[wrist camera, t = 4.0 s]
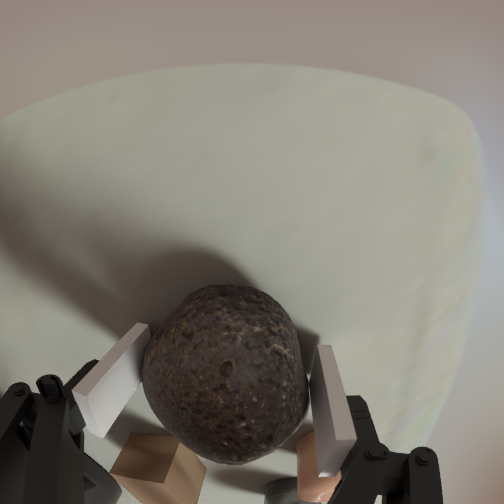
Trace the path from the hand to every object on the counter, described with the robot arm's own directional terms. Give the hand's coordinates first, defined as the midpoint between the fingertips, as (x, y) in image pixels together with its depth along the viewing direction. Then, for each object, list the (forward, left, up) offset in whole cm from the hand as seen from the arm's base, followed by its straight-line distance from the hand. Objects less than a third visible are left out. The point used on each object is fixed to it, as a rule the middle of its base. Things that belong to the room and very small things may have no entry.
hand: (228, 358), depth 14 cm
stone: (0, 0, -1) cm, 1 cm away
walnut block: (-5, -12, -1) cm, 13 cm away
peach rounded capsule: (+7, -8, -1) cm, 11 cm away
